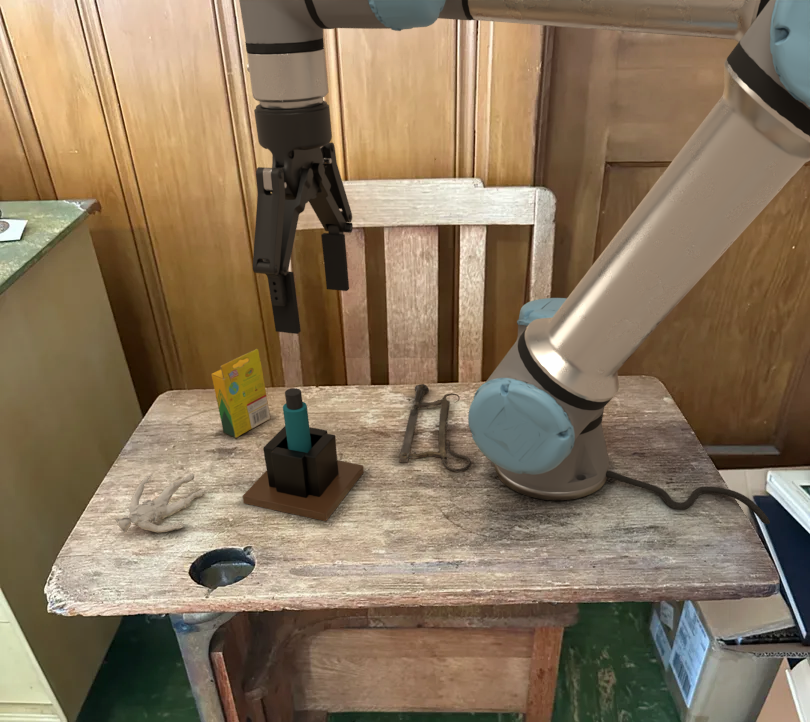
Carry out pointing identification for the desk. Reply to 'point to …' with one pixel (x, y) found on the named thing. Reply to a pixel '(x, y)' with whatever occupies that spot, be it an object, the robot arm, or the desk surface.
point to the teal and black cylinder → (296, 421)
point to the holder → (303, 477)
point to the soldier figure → (156, 507)
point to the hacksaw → (442, 453)
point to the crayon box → (241, 394)
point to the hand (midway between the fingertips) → (314, 309)
